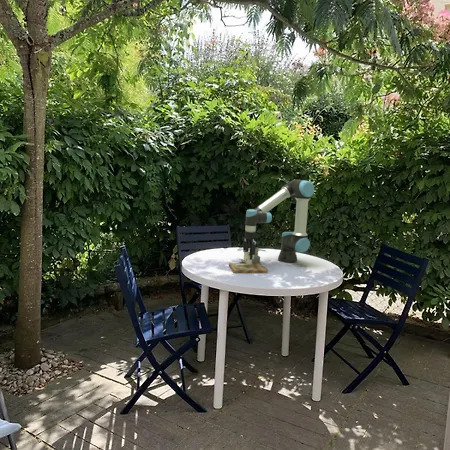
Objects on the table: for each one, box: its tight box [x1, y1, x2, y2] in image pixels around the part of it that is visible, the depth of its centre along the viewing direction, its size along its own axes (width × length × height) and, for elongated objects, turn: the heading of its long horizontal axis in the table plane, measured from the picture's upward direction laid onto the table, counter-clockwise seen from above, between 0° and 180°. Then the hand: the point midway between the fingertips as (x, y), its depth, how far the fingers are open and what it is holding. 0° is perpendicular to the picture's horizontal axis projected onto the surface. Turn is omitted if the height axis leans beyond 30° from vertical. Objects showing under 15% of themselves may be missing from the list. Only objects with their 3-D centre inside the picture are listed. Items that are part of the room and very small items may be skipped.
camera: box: [238, 246, 261, 263], centre depth 318 cm, size 9×12×15 cm
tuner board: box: [228, 262, 268, 274], centre depth 300 cm, size 24×19×2 cm
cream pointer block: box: [236, 252, 254, 266], centre depth 301 cm, size 13×3×10 cm, turn 108°
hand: (248, 263), depth 302 cm, fingers closed on cream pointer block, 3 cm apart
